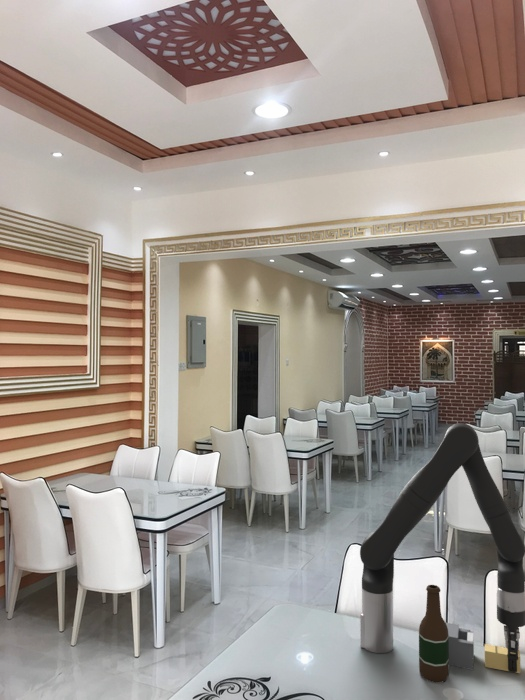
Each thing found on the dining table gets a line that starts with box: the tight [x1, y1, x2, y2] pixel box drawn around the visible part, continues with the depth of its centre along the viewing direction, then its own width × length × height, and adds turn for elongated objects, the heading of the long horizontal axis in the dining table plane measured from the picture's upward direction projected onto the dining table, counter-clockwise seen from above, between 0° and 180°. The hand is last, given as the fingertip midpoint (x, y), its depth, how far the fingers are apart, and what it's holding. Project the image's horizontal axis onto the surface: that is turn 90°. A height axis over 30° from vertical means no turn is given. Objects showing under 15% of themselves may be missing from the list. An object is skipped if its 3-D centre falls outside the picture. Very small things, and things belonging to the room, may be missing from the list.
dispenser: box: [445, 621, 475, 670], centre depth 158 cm, size 12×8×8 cm
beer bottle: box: [418, 584, 450, 684], centre depth 150 cm, size 8×8×24 cm
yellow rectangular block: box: [484, 643, 521, 674], centre depth 153 cm, size 9×4×4 cm, turn 68°
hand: (512, 666), depth 152 cm, fingers closed on yellow rectangular block, 4 cm apart
